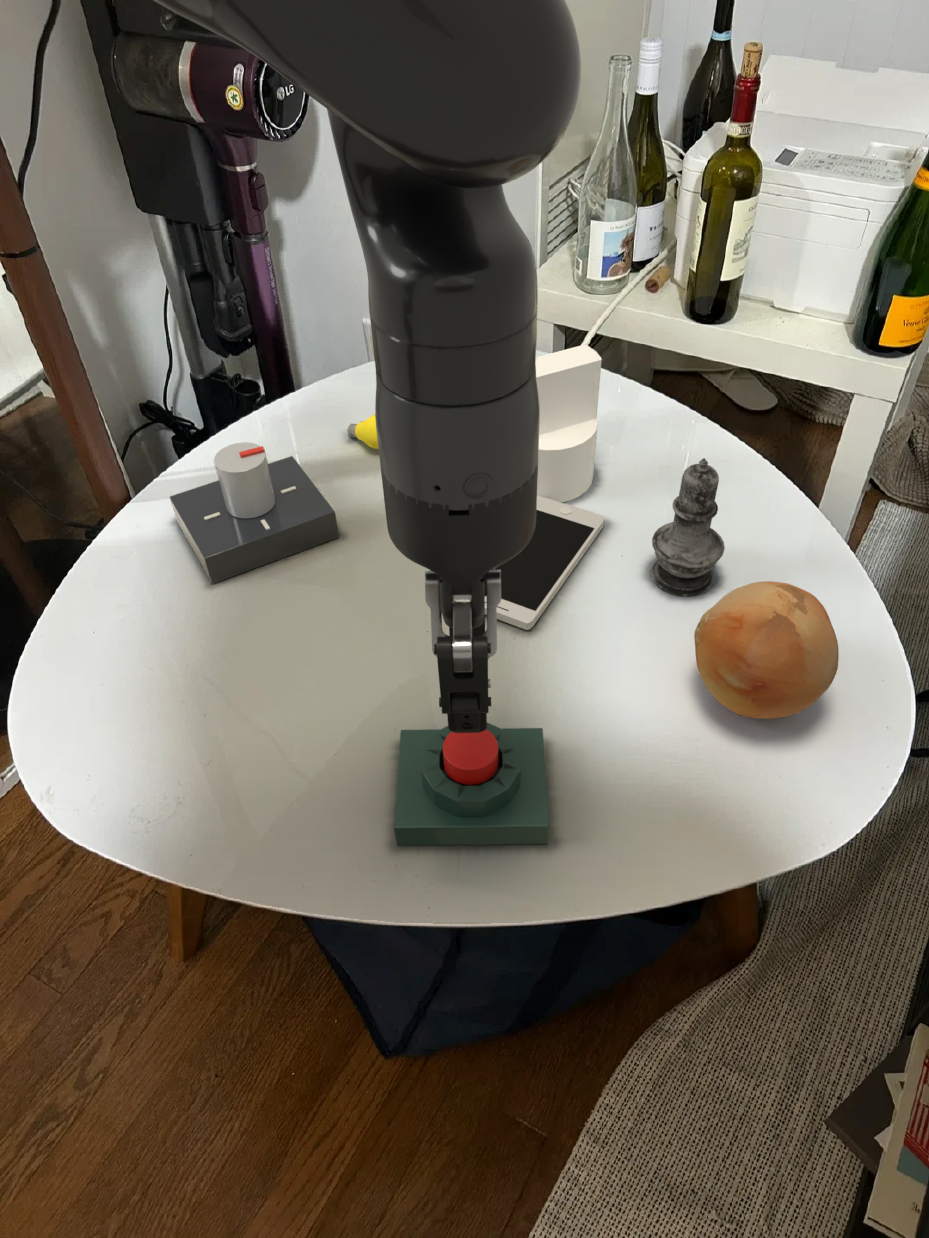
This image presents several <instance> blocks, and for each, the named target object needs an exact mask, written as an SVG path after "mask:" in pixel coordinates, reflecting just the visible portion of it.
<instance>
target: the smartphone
mask: <svg viewBox="0 0 929 1238" xmlns="http://www.w3.org/2000/svg"><path fill="white" fill-rule="evenodd" d="M605 518H606V517H605V515H603V514H600V513H596V512H593V511H589V510H586V509H583V508H580V507H577V506H573V505H571V504H567V503H565V502H558V501H555V500H551V499H548V498H545V497H542V496H539V495H537V510H536V526H535V530H534V533H533V536H532V538H531V540H530V541H529V543H528V544H527V545H526V547H525V548H524V549H523V550H522V551H521V552H520V553H519V554H517V555H516V556H515V557H513V558H512V559H510V560H509V561H507V562H505V563H503V564H501V565H499V566H498V567H496V568H495V570H501V601H500V603H499V604H498V606H497V620H498V621H502V622H504V623H507V624H510V625H512V626H514V627H517V628H520V629H523V630H525V631H526V630H527V631H530V630H531V629H532V628H533V627H534V626H535V624H536V623H537V622H538V620H539V619H540V617H541V616H542V615H543V613H544V612H545V610H546V609H547V607H548V606H549V604H550V603H551V602H552V600H554V598H555V596H556V595H557V593H558V592H559V590H560V589H561V588H562V586H563V585H564V583H565V582H566V580H567V579H568V578H569V576H570V575H571V573H572V572H573V571H574V569H575V568H576V566H577V565H578V563H579V562H580V561H581V559H582V558H583V557H584V555H585V554H586V552H587V551H588V549H589V548H590V547H591V545H592V544H593V542H594V541H595V539H596V538H597V537H598V535H599V534H600V532H601V531H602V529H603V528H604V527H605ZM485 616H487V596H486V597H485Z"/></svg>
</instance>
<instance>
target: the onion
mask: <svg viewBox="0 0 929 1238" xmlns="http://www.w3.org/2000/svg"><path fill="white" fill-rule="evenodd" d="M693 634H694V637H693V638H694V651H695V662H696V663H695V664H696V668H697V672H698V674H699V676H700V678H701V681H702V682H703V684H704V685H705V687H706V689H707V691H709V693H710V694H711V696H713V697H714V698H715V700H716V701H717V702H718V703H719V704H721V705H722V706H723V707H725V708H726V709H727V710H728V711H729V710H730V711H731V712H733V713H734V714H737V715H739V716H743V717H747V718H752V719H763V720H767V719H780V718H786V717H790V716H794V715H796V714H799V713H801V712H803V711H804V710H806V709H808V708H810V707H811V706H812V705H813V704H815V703H816V702H817V701H818V700H819V699H820V698H821V697H822V695H823V694H824V693H825V692H826V691H828V689H829V688H830V687H831V686H832V683H833V682H834V680H835V677H836V675H837V672H838V668H839V659H840V657H839V655H840V654H839V643H838V638H837V635H836V631H835V629H834V626H833V625H832V622H831V619H830V617H829V614H828V611H827V610H826V608H825V606H824V604H822V602H821V601H820V600H819V599H818V598H817V597H816V596H815V595H814V594H813V593H811V592H809V591H807V590H806V589H803V588H801V587H798V586H796V585H793V584H790V583H786V582H780V581H773V580H772V581H770V580H764V581H756V582H752V583H748V584H745V585H741V586H740V587H737V588H735V589H733V590H730V591H729V592H728V593H727V594H725V595H723V596H722V597H721V598H720V599H719V600H718V601H717V602H716V603H715V604H714V605H712V607H710V608H709V609H707V610H706V611H705V613H704V614H703V615H702V616H701V618H700V619H699V621H698V623H697V625H696V628H695V630H694V633H693Z"/></svg>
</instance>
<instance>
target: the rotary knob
mask: <svg viewBox="0 0 929 1238" xmlns="http://www.w3.org/2000/svg"><path fill="white" fill-rule="evenodd" d="M268 462H269V461H268V457H267V453H266V449H265V448H264V446H263V445H260V444H257V443H255V442H248V441H247V442H245V441H244V442H236V443H232V444H229V445H227V446H224V447H223V448H221V449H220V450H218V451H217V452H216V454H215V455H214V458H213V464H214V469H215V471H216V475H217V478H218V479H217V480H219V483H220V487H221V490H222V494H223V498H224V502H225V506H226V509H227V511H228V512H229V513H230V514H231V515H232V516H235V517H238V518H244V519H248V518H255V517H259V516H261V515H264V514H266V513H267V512H269V511H270V510H271V509H272V508H273V506H274V505H275V501H276V499H275V494H274V489H273V485H272V480H271V475H270V471H269V466H268V464H269V463H268Z"/></svg>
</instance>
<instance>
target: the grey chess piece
mask: <svg viewBox="0 0 929 1238" xmlns="http://www.w3.org/2000/svg"><path fill="white" fill-rule="evenodd" d="M680 481H681V482H680V488H679V493H678V496H676V497H675V498H674V499H673V502H672V510H673V512H674V516H673V521H671V522H668V523H665V524H663V525H662V526H660V527H658V528H657V529H656V531H655V532H653V536H652V538H651V543H652V548H653V550H654V553H655V554H654V555H655V557H656V560H655V561H654V562H653V564H652V566H651V569H650V576H651V579H652V581H653V583H654V584H655V585H656V586H657V588H659V589H660V590H662V591H663V592H665V593H668V594H670V595H673V596H677V597H687V598H688V597H696V596H699V595H702V594H704V593H706V592H708V591H709V590H710V589H711V587H712V586H713V584H714V581H715V575H714V574H715V573H714V570H713V567H714V566H715V565H716V564H717V563H718V561H719V560H720V559H721V558H722V557H723V555H724V552H725V548H726V547H725V541H724V540H723V538H722V536H721V535H720V534H719V533H718V532H717V531H716V530H715V529H713V528H712V527H711V526H712V521H713V518H715V517H716V516H717V514H718V512H719V507H718V503H717V502H716V496H717V491H718V488H719V482H720V477H719V473H718V472H717V470H716V469H715V468H714V467H713V466H711V465H709V461H708V460H707V459H706V457H703V458H702V459H701V460H699V461H698V463H694V464H691V465H689V466H688V467H687V468H685V470H684V471H683V473H682V476H681V480H680Z"/></svg>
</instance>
